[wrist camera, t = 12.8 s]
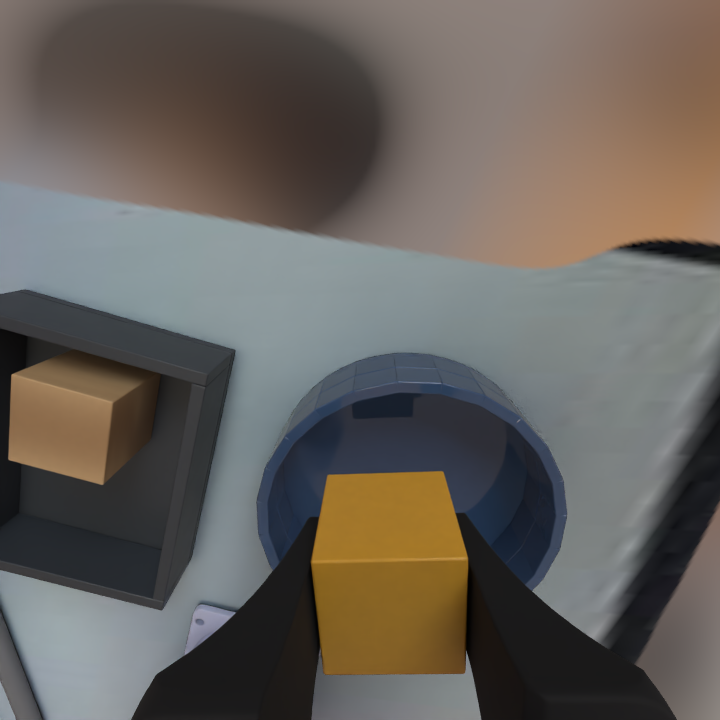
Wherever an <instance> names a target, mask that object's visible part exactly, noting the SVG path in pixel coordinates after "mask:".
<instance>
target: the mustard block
mask: <svg viewBox="0 0 720 720" xmlns="http://www.w3.org/2000/svg"><path fill="white" fill-rule="evenodd" d="M311 569H312V578H313V587H314V595H315V604H316V613H317V622H318V630H319V639H320V648H321V657H322V666H323V672H324V674H325V675H373V674H464V673H465V670H466V631H467V591H468V556H467V552H466V549H465V545H464V542H463V538H462V535H461V531H460V528H459V524H458V521H457V517H456V514H455V510H454V507H453V503H452V500H451V496H450V493H449V489H448V486H447V482H446V479H445V475H444V472H443V471H430V472H398V473H366V474H334V475H328V476H327V479H326V484H325V490H324V495H323V500H322V505H321V511H320V516H319V521H318V526H317V532H316V537H315V542H314V547H313V553H312V558H311Z"/></svg>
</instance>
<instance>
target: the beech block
mask: <svg viewBox="0 0 720 720" xmlns="http://www.w3.org/2000/svg"><path fill="white" fill-rule="evenodd" d="M160 377H161V374H160V373H156V372H153V371H149V370H146V369H142V368H139V367H135V366H131V365H128V364H124V363H121V362H117V361H114V360H110V359H107V358H103V357H100V356H96V355H93V354H89V353H86V352H82V351H79V350H75V349H73V350H70V351H68V352H65V353H63V354H60V355H58V356H55V357H53V358H51V359H48V360H46V361H43V362H41V363H38V364H36V365H33V366H31V367H28V368H26V369H23V370H21V371H19V372H16V373H14V374H12V375H11V400H10V428H9V456H8V459H9V460H10V461H14V462H18V463H21V464H25V465H29V466H33V467H36V468H40V469H44V470H48V471H52V472H55V473H59V474H63V475H67V476H70V477H74V478H78V479H82V480H85V481H89V482H93V483H97V484H100V485H103V484H104V483H105V482H107V481H108V480H109V479H110V478H111V477H112V476H113V475H114V474H115V473H116V472H117V471H118V470H119V469H120V468H121V467H122V466H123V465H124V464H125V463H127V462H128V461H129V460H130V459H131V458H132V457H133V456H134V455H135V454H136V453H137V452H138V451H139V450H140V449H141V448H142V447H143V446H144V445H146V444H147V443H148V442H149V441H150V440H151V435H152V428H153V422H154V416H155V409H156V403H157V396H158V390H159V383H160Z"/></svg>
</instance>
